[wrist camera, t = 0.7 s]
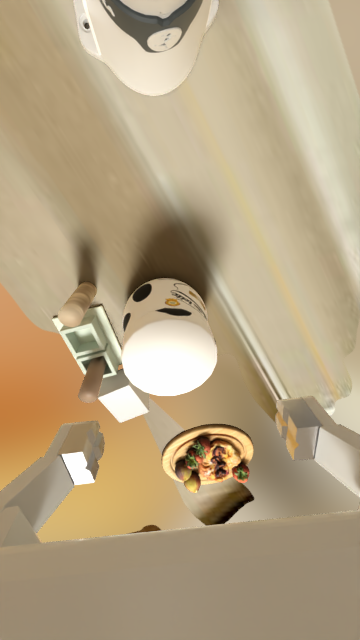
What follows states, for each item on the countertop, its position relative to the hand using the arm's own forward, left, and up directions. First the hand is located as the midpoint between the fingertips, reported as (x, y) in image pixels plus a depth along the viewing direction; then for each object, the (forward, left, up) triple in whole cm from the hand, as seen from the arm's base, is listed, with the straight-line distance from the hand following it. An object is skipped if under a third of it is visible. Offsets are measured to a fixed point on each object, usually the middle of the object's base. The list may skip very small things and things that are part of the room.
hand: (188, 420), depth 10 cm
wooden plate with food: (+72, -2, -40) cm, 82 cm away
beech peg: (+5, -17, -40) cm, 43 cm away
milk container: (+14, -3, -40) cm, 42 cm away
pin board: (+17, -21, -40) cm, 48 cm away
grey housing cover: (+32, -18, -40) cm, 54 cm away
